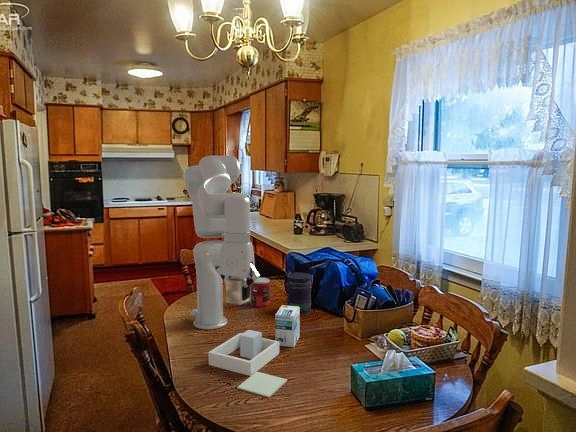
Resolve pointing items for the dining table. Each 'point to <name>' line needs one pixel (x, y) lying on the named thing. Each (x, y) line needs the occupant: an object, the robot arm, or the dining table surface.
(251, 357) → the plain block
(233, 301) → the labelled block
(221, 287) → the robot arm
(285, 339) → the light bulb box
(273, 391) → the mat
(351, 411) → the dining table surface
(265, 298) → the canned food
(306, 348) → the dining table surface
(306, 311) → the storage jar
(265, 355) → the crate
